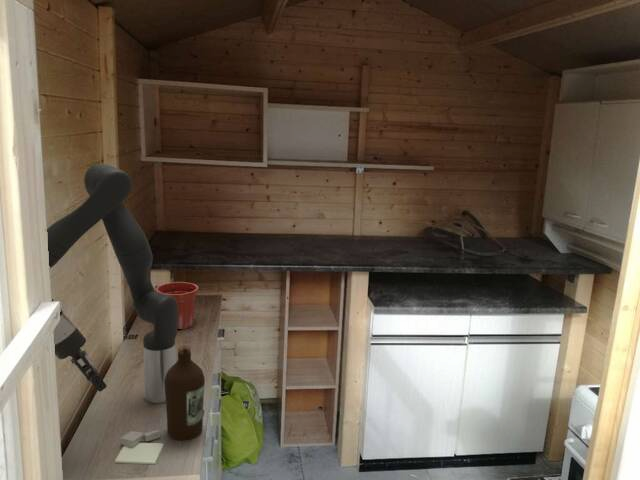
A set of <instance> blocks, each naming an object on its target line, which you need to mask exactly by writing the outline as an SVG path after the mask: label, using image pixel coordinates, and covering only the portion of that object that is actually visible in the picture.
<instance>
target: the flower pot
mask: <svg viewBox="0 0 640 480" xmlns="http://www.w3.org/2000/svg"><path fill="white" fill-rule="evenodd" d="M198 289H199V286H198V285H197V284H195V283H192V282H185V281H175V282H174V281H173V282H167V283H164V284H163V283H162V284H160V285H158V286H157V287H156V289H155V291H156V292H157V293H161V294H165V295H169V296H172V297H174V298H175V299H176V301H177V304H178V328H177V329H182V330H185V329H184V328H186V329H189V328H191V327H192V326H193V325H194V317H195V316H194V315H195V303H196V298H197V291H198ZM190 326H191V327H190ZM188 327H189V328H188Z"/></svg>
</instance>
